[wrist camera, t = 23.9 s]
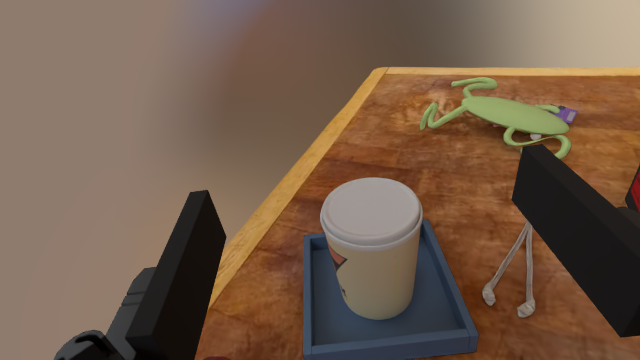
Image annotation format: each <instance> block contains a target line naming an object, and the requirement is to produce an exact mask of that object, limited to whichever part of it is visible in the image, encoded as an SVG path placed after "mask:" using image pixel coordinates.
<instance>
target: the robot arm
mask: <svg viewBox="0 0 640 360" xmlns="http://www.w3.org/2000/svg"><path fill="white" fill-rule="evenodd" d="M512 201H513V202H514V204H515V205H516V206H517V208H518V209H519V210H520V211H521V213H522V214H523V215H524V216H525V218H526V219H527V220H528V221H529V223H530V224H531V225H532V226H533V228H534V229H535V230H536V232H537V233H538V234H539V235H540V237H541V238H542V239H543V240H544V242H545V243H546V244H547V245H548V247H549V248H550V249H551V250H552V252H553V253H554V254H555V256H556V257H557V258H558V259H559V261H560V262H561V263H562V264H563V266H564V267H565V268H566V269H567V271H568V272H569V273H570V274H571V276H572V277H573V278H574V280H575V281H576V282H577V283H578V285H579V286H580V287H581V288H582V290H583V291H584V292H585V293H586V295H587V296H588V297H589V299H590V300H591V301H592V302H593V304H594V305H595V306H596V307H597V309H598V310H599V311H600V312H601V314H602V315H603V316H604V317H605V319H606V320H607V321H608V323H609V324H610V325H611V326H612V328H613V329H614V330H615V331H616V333H617V334H618V335H619V336H620V338H621V337H630V336H639V335H640V214H639V213H637V212H635V211H633V210H631V209H629V208H627V207H618V208H615V207H614V206H613V205H612V204H611V203H610V202H608V201H607V200H606V199H605V198H604V197H603V196H601V195H600V194H599V193H598V192H597V191H596V190H595V189H593V188H592V187H591V186H590V185H589V184H588V183H586V182H585V181H584V180H583V179H582V178H581V177H580V176H578V175H577V174H576V173H575V172H574V171H573V170H571V169H570V168H569V167H568V166H567V165H566V164H564V163H563V162H562V161H561V160H560V159H559V158H558V157H556V156H555V155H554V154H553V153H552V152H551V151H549V150H548V149H547V148H546V147H545V146H544V145H543V144H540V145H532V146H525V147H523V148H522V153H521V158H520V163H519V167H518V172H517V177H516V181H515V186H514V191H513V195H512ZM225 240H226V234H225V232H224V230H223V227H222V224H221V222H220V219H219V217H218V215H217V212H216V209H215V207H214V204H213V202H212V199H211V197H210V194H209V192H208V190H203V191H196V192H190V194H189V196H188V198H187V200H186V203H185V205H184V207H183V209H182V212H181V214H180V216H179V218H178V221H177V223H176V225H175V227H174V229H173V232H172V234H171V236H170V238H169V240H168V243H167V245H166V247H165V249H164V252H163V254H162V256H161V258H160V260H159V263H158V265H157V267H151V268H145V269H143V270H142V272H141V273H140V274H139V275H138V276H137V277H136V278H135V279H134V280H133V282H132V284H131V286H130V288H129V290H128V292H127V296H125V298H124V300H123V302H122V304H121V305H122V306H121V307H120V308H119V310H118V312H117V314H116V316H115V318H114V320H113V322H112V324H111V326H110V328H109V330H108V332H107V334H106V336H105V335H104V334H103V333H102V332H101V331H97V330H91V331H86V332H83V333H81V334H79V335H77V336H75V337H73V338H72V339H71V340H69V341H68V342H67V343H66V344H65V345H63V347H62V348H61V349H60V350H59V351H58V352H57V354H56V356H55V358H54V360H194V359H195V355H196V351H197V347H198V344H199V340H200V336H201V332H202V328H203V325H204V321H205V317H206V313H207V309H208V306H209V302H210V298H211V294H212V290H213V286H214V283H215V279H216V275H217V271H218V267H219V264H220V260H221V256H222V252H223V248H224V244H225Z"/></svg>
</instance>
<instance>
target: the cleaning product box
mask: <svg viewBox="0 0 640 360" xmlns="http://www.w3.org/2000/svg"><path fill="white" fill-rule="evenodd" d="M625 200H626V203H627V206H628V208H629V209H631V210H633V211H635V212H637V213H639V214H640V165H639V168H638V170H637V172H636V175H635V177H634V179H633V182H632V184H631V186H630V188H629V191H628V193H627V195H626V198H625Z"/></svg>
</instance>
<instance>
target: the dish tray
mask: <svg viewBox="0 0 640 360" xmlns="http://www.w3.org/2000/svg"><path fill="white" fill-rule="evenodd" d="M478 337H479V334H478V332H477V330H476V327H475V325H474V323H473V321H472V318H471V316H470V314H469V311H468V309H467V307H466V305H465V302H464V300H463V298H462V295H461V293H460V291H459V289H458V286H457V284H456V282H455V279H454V277H453V275H452V273H451V270H450V268H449V266H448V263H447V261H446V259H445V257H444V254H443V252H442V250H441V248H440V245H439V243H438V241H437V238H436V236H435V234H434V232H433V229H432V227H431V225H430V222H429V220H428V219H424V220H422V224H421V226H420V237H419V246H418V255H417V264H416V272H415V281H414V289H413V295H412V299H411V301H410V303H409V305H408V306H407V308H406V309H405V310H404V311H403V312H401V313H400V314H398V315H397V316H395V317H392V318H389V319H384V320H373V319H368V318H364V317H362V316H359V315H358V314H356V313H355V312H353V311H352V310H351V309H350V308H349V307H348V305H347V304H346V302H345V301H344V298H343V295H342V292H341V289H340V286H339V282H338V279H337V275H336V271H335V268H334V264H333V261H332V257H331V254H330V250H329V246H328V243H327V239H326V235H325V232H324V233H316V234H310V235H304V286H303V356H304V359H305V360H406V359H415V358H424V357H433V356H442V355H451V354H461V353H470V352H476V348H477V342H478Z"/></svg>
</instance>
